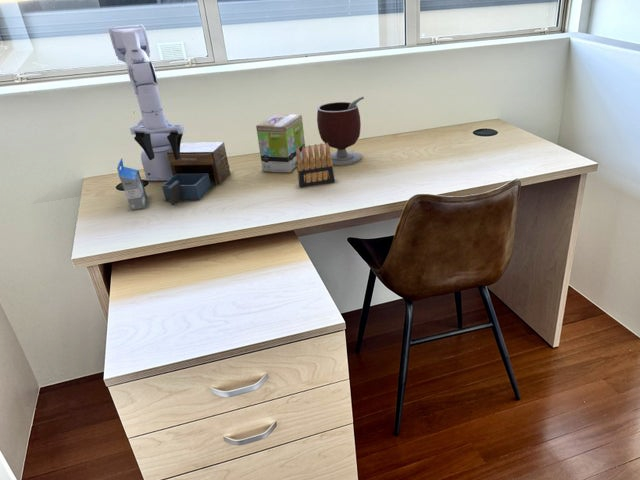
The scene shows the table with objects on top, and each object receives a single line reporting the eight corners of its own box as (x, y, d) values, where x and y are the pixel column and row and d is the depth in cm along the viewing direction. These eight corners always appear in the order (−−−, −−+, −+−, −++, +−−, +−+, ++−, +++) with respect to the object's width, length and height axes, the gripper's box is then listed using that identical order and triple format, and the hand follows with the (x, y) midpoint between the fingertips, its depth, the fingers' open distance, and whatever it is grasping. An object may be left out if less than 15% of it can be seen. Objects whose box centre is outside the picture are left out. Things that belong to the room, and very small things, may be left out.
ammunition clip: (333, 180, 170) (329, 141, 163) (335, 182, 168) (331, 142, 162) (298, 186, 167) (293, 146, 160) (300, 188, 165) (294, 148, 159)
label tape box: (145, 208, 156) (132, 165, 150) (129, 210, 155) (116, 167, 149) (147, 197, 163) (135, 156, 157) (133, 199, 162) (120, 157, 156)
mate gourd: (318, 166, 181) (310, 102, 170) (325, 152, 193) (318, 92, 182) (365, 165, 180) (361, 101, 169) (369, 152, 192) (365, 91, 181)
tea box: (291, 173, 176) (284, 126, 169) (262, 172, 178) (254, 125, 170) (307, 157, 189) (302, 113, 181) (279, 157, 191) (273, 112, 183)
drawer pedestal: (218, 187, 168) (210, 153, 163) (173, 187, 169) (164, 154, 164) (230, 173, 178) (223, 141, 173) (188, 174, 179) (180, 142, 174)
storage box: (156, 209, 156) (150, 188, 152) (179, 187, 169) (174, 168, 166) (191, 208, 155) (186, 188, 152) (211, 187, 168) (207, 168, 165)
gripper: (119, 114, 150) (134, 163, 157) (171, 113, 149) (183, 163, 156) (131, 108, 156) (145, 155, 163) (181, 106, 155) (193, 154, 162)
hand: (164, 158), depth 160 cm, fingers open, 7 cm apart
